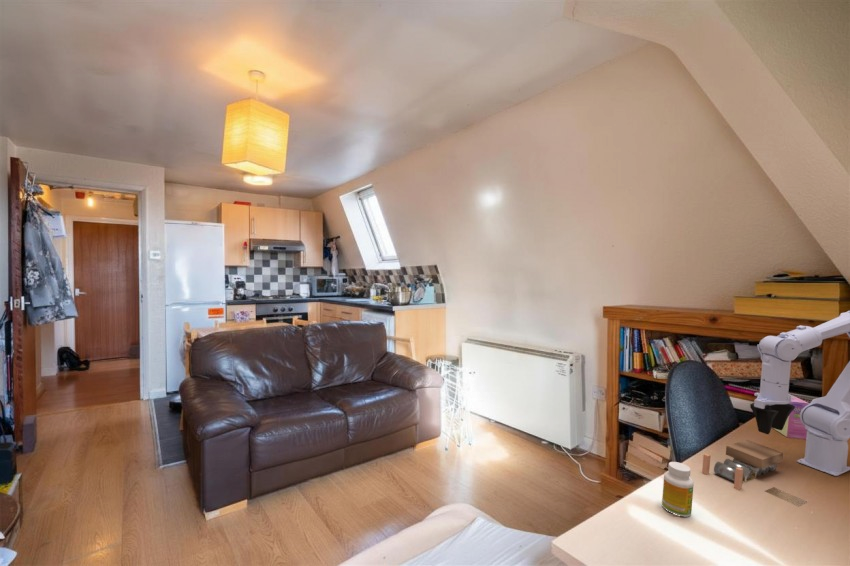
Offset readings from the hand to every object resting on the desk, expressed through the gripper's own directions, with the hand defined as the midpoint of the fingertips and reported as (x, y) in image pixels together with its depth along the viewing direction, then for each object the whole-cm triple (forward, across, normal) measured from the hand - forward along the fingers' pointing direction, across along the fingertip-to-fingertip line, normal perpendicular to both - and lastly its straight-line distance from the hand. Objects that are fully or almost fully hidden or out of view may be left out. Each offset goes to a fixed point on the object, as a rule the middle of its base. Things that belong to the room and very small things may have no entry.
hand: (770, 430), depth 107 cm
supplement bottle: (+10, +44, +3) cm, 46 cm away
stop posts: (+9, +22, 0) cm, 24 cm away
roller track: (+9, +11, +5) cm, 15 cm away
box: (+10, -34, -10) cm, 36 cm away
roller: (+9, +15, 0) cm, 17 cm away
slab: (+6, +8, 0) cm, 10 cm away
